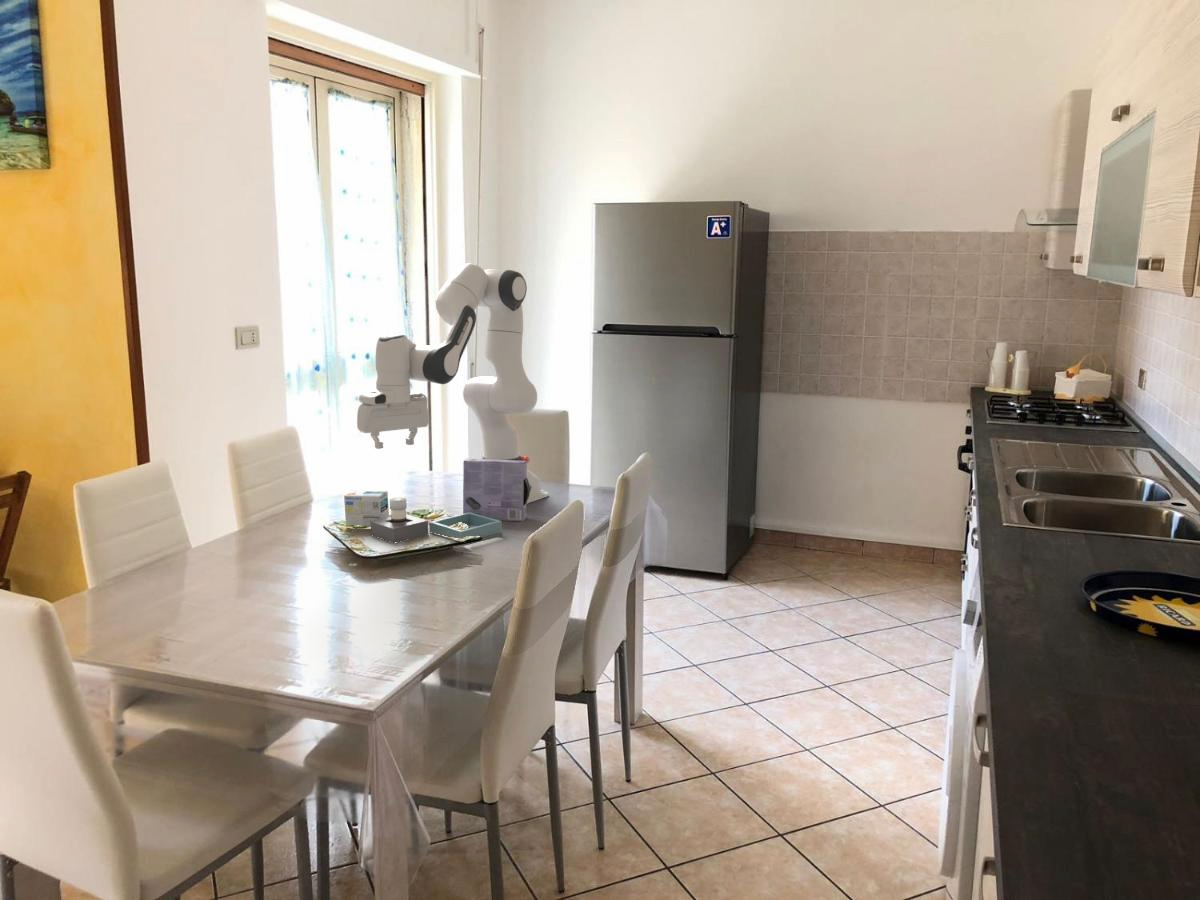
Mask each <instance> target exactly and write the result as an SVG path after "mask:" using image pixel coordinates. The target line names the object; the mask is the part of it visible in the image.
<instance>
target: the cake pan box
mask: <svg viewBox="0 0 1200 900" xmlns="http://www.w3.org/2000/svg"><path fill="white" fill-rule="evenodd" d="M462 462H463V466H462V467H463V468H462V469H463V475H462V476H463V477H462V478H463V479H462V483H463V484H462V487H463V488H462V494H463V495H462V501H463V502H462V514H464V513H468V512H471V513H474V514H478V515H481V516H485V517H488V518H492V519H495V520H499V521H505V522H508V521H509V522H524V521H526V519H527V504H526V503H527V500H528V498H529V494H530V486H529V482H528V479H527V467H528V466H527V464H528V463H527V461H516V460H494V459H482V458H466V459H465V458H464V460H463V461H462Z"/></svg>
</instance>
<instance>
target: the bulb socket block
mask: <svg viewBox="0 0 1200 900" xmlns="http://www.w3.org/2000/svg"><path fill="white" fill-rule="evenodd" d="M406 517H407V522H406V523H402V524H398V525H395V524H392V522H391V516H389V517H386V518H382V519H378V520H373V521H370V525H371V530H370V536H371V535H373V536H372V537H374V536H375V538H377V537H379V538H382V539H384V540H383V541H385V540H387V541H386V542H388V541H391V542H393V543H392V544H394V543H395V542H399V543H401V542H400V541H403V542H405V541H404V540H407V539H411V540H413V539H412V538H415V539H418V538H417V537H419V538H422V537H426V536H428V535H429V521H428V520H427V519H425V518H421V517H418V516H414V515H411V514H408V513H406ZM427 534H428V535H427ZM425 535H426V536H425ZM421 536H422V537H421ZM379 538H378V539H379ZM382 539H381V540H382ZM407 541H408V540H407ZM391 542H390V543H391ZM395 544H396V543H395Z"/></svg>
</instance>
